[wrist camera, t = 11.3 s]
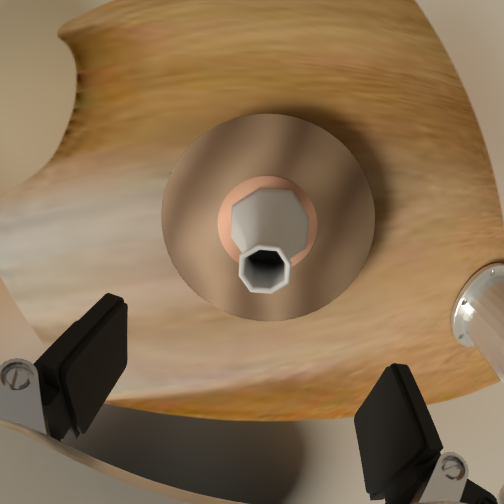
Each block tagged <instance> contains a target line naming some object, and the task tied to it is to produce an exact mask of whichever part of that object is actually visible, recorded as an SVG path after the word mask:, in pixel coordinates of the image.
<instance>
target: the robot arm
mask: <svg viewBox="0 0 504 504" xmlns="http://www.w3.org/2000/svg"><path fill="white" fill-rule="evenodd" d="M127 312H128V306H127V304H126V303H124V300H123V298H122V297H119V296H116V295H113V294H110V293H107V294H105V295H104V296H103V297H102V298H101V299H100V300H99V301H98V302H97V303H96V304H95V305H94V306H93V307H92V308H91V309H90V310H89V311H88V312H87V313H86V314H85V315H84V316H83V317H81V318H80V319H79V320H78V321H76V322H74V323H73V324H72V325H71V326H70V327H69V328H68V329H67V330H66V331H65V332H64V333H63V334H62V335H61V336H60V337H59V338H58V339H57V340H56V341H55V342H54V343H53V344H52V345H51V346H50V347H49V348H48V349H47V350H46V351H45V352H44V354H43V355H42V356H41V357H40V358H39V359H38V360H37V361H36V362H35V363H34V364H32V363H31V362H29V361H27V360H24V359H18V358H16V359H10V360H8V361H6V362H4V363H3V364H2V365H1V366H0V504H246V503H239V502H234V501H228V500H223V499H218V498H214V497H209V496H204V495H200V494H196V493H192V492H188V491H185V490H181V489H177V488H173V487H170V486H167V485H164V484H161V483H157V482H154V481H151V480H148V479H146V478H143V477H140V476H137V475H135V474H132V473H129V472H127V471H124V470H122V469H119V468H116V467H114V466H112V465H109V464H107V463H105V462H102V461H100V460H97V459H95V458H93V457H91V456H89V455H87V454H84V453H82V452H80V451H78V450H76V449H74V448H72V447H70V446H68V445H66V444H64V443H62V440H61V439H63V438H64V436H65V435H66V434H68V435H70V436H72V437H73V438H75V439H77V437H78V436H79V434H80V433H82V434H84V433H85V432H86V431H87V429H88V428H89V426H90V424H91V423H92V421H93V419H94V418H95V416H96V415H97V413H98V411H99V410H100V408H101V406H102V405H103V403H104V401H105V400H106V398H107V397H108V395H109V393H110V392H111V390H112V389H113V387H114V385H115V384H116V382H117V381H118V379H119V377H120V376H121V374H122V373H123V371H124V370H125V368H126V365H127ZM451 329H452V332H453V335H454V337H455V338H456V339H457V341H458V342H459V343H460V344H462V345H464V346H468V347H474V346H476V347H477V348H478V350H479V351H480V352H481V353H482V355H483V356H484V357H485V359H486V360H487V361H488V363H489V364H490V365H491V367H492V368H493V370H494V371H495V372H496V374H497V375H498V376H499V378H500V379H501V381H502V382H503V384H504V264H503V263H493V264H490V265H487V266H485V267H483V268H482V269H481V270H479V271H478V272H477V273H476V274H474V275H473V276H472V277H471V278H470V280H469V281H468V282H467V283H466V284H465V286H464V287H463V289H462V290H461V292H460V294H459V296H458V298H457V300H456V302H455V305H454V307H453V311H452V316H451ZM354 423H355V429H356V434H357V439H358V445H359V450H360V456H361V462H362V468H363V474H364V481H365V487H366V491H367V493H370V500H382V499H384V498H385V501H386V503H385V504H504V485H503V486H502V488H501V490H500V492H499V494H498V497H497V499H496V498H495V497H494V495H492V494H491V493H490V492H488V491H486V490H485V489H483V488H481V487H480V486H478V485H477V484H475V483H474V482H472V481H470V480H469V479H467V477H468V466H467V464H466V461H465V460H464V459H463V458H462V457H461V456H460V455H458V454H456V453H454V452H447V453H444V454H442V455H441V454H440V451H441V450H442V449H443V446H442V443H441V440H440V438H439V435H438V433H437V430H436V428H435V425H434V423H433V420H432V418H431V416H430V413H429V411H428V409H427V406H426V404H425V402H424V399H423V397H422V395H421V393H420V390H419V388H418V386H417V384H416V382H415V379H414V377H413V375H412V373H411V371H410V369H409V367H408V366H407V365H404V364H396V363H393V364H391V365H390V366H389V367H386V369H385V370H384V372H383V373H382V375H381V377H380V378H379V380H378V381H377V383H376V384H375V386H374V387H373V389H372V391H371V392H370V394H369V395H368V397H367V398H366V399H365V401H364V402H363V404H362V405H361V407H360V408H359V410H358V411H357V412H356V414H355V417H354Z"/></svg>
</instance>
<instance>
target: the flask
mask: <svg viewBox="0 0 504 504" xmlns="http://www.w3.org/2000/svg"><path fill="white" fill-rule="evenodd" d="M308 226H309V216H308V215H307V213H306V212H305V210H304V208H303V207H302V205H301V204H300V202H299V200H298V199H297V197H296V196H295V194H294V193H293V191H292V190H282V189H269V188H258V189H256V190H255V191H253V192H252V193H250V194H249V195H247V196H245V197H244V198H242V199H241V200H239V201H238V202H236V203H235V204H233V205H232V211H231V238H232V239H233V241H234V242H235V244H236V245H237V246H238V248H239V249H240V251H241V252H242V253H241V254H240V256H239V277H240V278H241V280H242V281H243V282H244V284H245V285H246V287H247V288H248V289H249V291H250V292H255V293H267V294H272V293H274V292H276V291H277V290H279V289H281V288H283V287H285V286H286V285H288V284H289V283H290V275H291V266H292V262H291V261H290V259H291V258H292V257H294V256H295V255H296V254H298V253H300V252H302V251H303V250H305V249H306V244H307V235H308Z"/></svg>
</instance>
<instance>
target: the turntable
mask: <svg viewBox="0 0 504 504" xmlns="http://www.w3.org/2000/svg"><path fill="white" fill-rule="evenodd" d="M258 188H269V189H282V190H292V191H293V193H294V194H295V196H296V197H297V199H298V200H299V202H300V204H301V205H302V207H303V208H304V210H305V212H306V213H307V215H308V216H309V226H308V235H307V244H306V249H305V250H303V251H302V252H300V253H298V254H296V255H295V256H294V257H292V258H291V259H290V261H291V262H292V266H291V275H290V283H289V284H288V285H286V286H285V287H283V288H281V289H279V290H277V291H276V292H274V293H272V294H267V293H255V292H250V291H249V289H248V288H247V287H246V285H245V284H244V282H243V281H242V280H241V278H240V277H239V256H240V254H241V253H242V252H241V251H240V249H239V248H238V246H237V245H236V244H235V242H234V241H233V239H232V238H231V211H232V205H233V204H235V203H236V202H238V201H239V200H241V199H242V198H244V197H245V196H247V195H249V194H250V193H252V192H253V191H255V190H256V189H258ZM161 218H162V231H163V237H164V241H165V245H166V248H167V251H168V254H169V256H170V258H171V260H172V263H173V265H174V266H175V268H176V270H177V271H178V273H179V274H180V276H181V277H182V278H183V280H184V281H185V282H186V283H187V285H188V286H189V287H190V288H191V289H192V290H193V291H194V292H195V293H196V294H197V295H199V296H200V297H201V298H203V299H204V300H205V301H206V302H208V303H209V304H211V305H213V306H215V307H216V308H218V309H220V310H222V311H224V312H227V313H229V314H231V315H235V316H238V317H241V318H245V319H250V320H257V321H282V320H288V319H294V318H297V317H301V316H304V315H307V314H310V313H312V312H314V311H317V310H319V309H320V308H322V307H324V306H326V305H327V304H329V303H330V302H332V301H333V300H334V299H336V298H337V297H338V296H340V295H341V294H342V293H343V292H344V291H345V290H346V289H347V288H348V287H349V286H350V284H351V283H352V282H353V281H354V280H355V278H356V277H357V275H358V274H359V272H360V271H361V269H362V267H363V266H364V263H365V261H366V259H367V257H368V255H369V252H370V248H371V245H372V241H373V236H374V229H375V208H374V200H373V196H372V192H371V188H370V185H369V183H368V180H367V178H366V176H365V173H364V171H363V170H362V168H361V166H360V165H359V163H358V161H357V160H356V158H355V157H354V156H353V155H352V153H351V152H350V151H349V150H348V148H347V147H345V146H344V145H343V144H342V143H341V142H340V141H339V140H338V139H337V138H336V137H334V136H333V135H331V134H330V133H329V132H327V131H326V130H324V129H323V128H321V127H319V126H317V125H315V124H313V123H311V122H308V121H305V120H302V119H299V118H296V117H292V116H287V115H282V114H254V115H247V116H243V117H238V118H235V119H232V120H229V121H227V122H224V123H222V124H220V125H218V126H216V127H214V128H212V129H211V130H209V131H207V132H206V133H205V134H203V135H202V136H201V137H199V138H198V139H197V140H196V141H195V142H194V143H193V144H192V145H191V146H190V147H189V148H188V149H187V150H186V151H185V152H184V154H183V155H182V156H181V158H180V159H179V160H178V162H177V163H176V165H175V167H174V169H173V171H172V172H171V174H170V177H169V180H168V182H167V185H166V188H165V192H164V196H163V201H162V212H161Z"/></svg>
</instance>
